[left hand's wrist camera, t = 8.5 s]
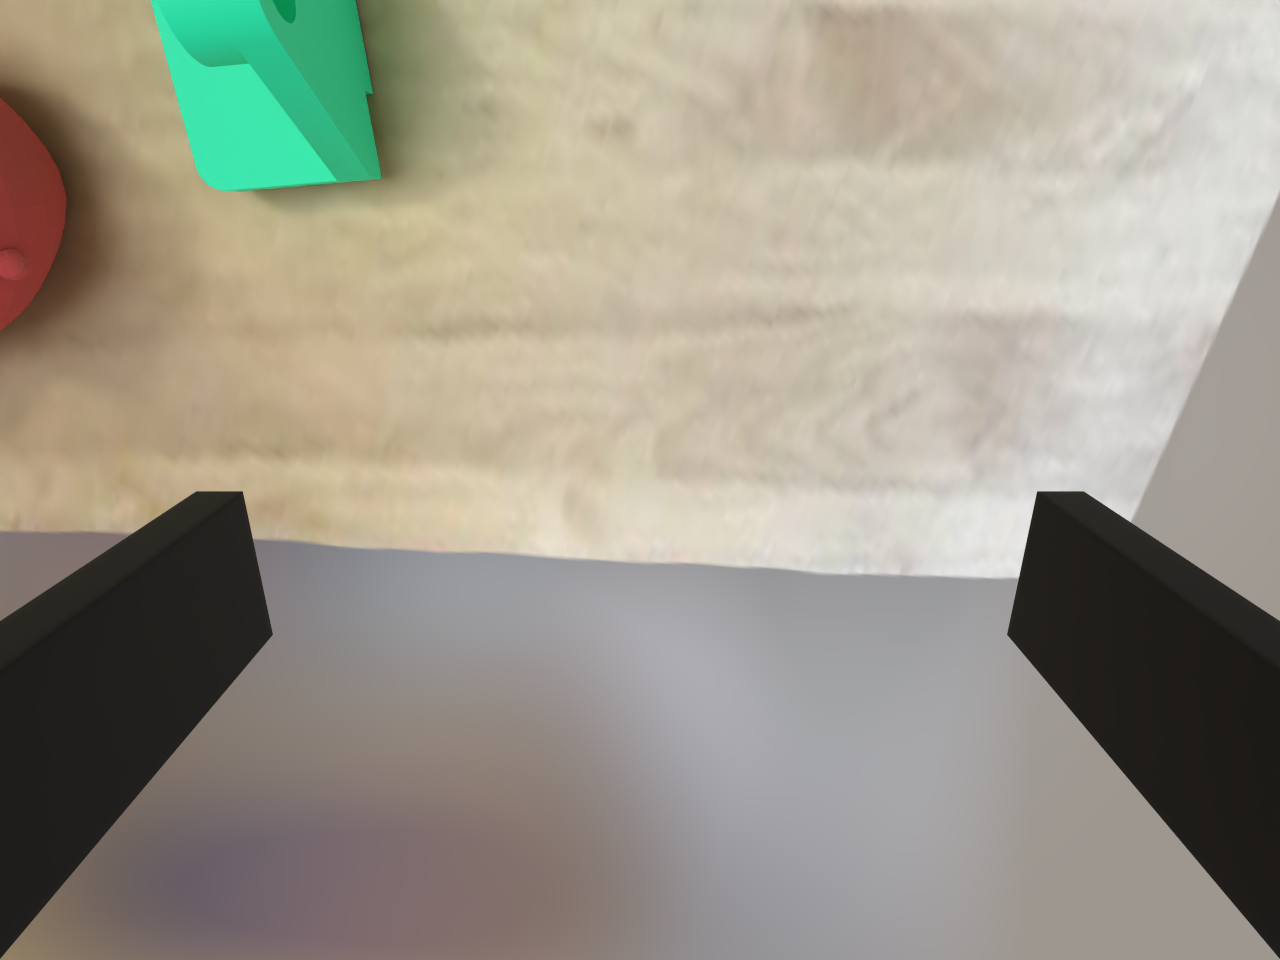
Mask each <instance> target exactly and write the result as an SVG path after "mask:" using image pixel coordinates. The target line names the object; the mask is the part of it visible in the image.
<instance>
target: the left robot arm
mask: <svg viewBox="0 0 1280 960" xmlns="http://www.w3.org/2000/svg"><path fill="white" fill-rule="evenodd" d="M272 635H273V633H272V629H271V624H270V619H269V614H268V610H267V605H266V600H265V595H264V591H263V586H262V581H261V576H260V571H259V567H258V562H257V557H256V552H255V548H254V543H253V538H252V533H251V529H250V524H249V519H248V514H247V510H246V505H245V500H244V495H243V492H195V493H193V494H192V495H190V496H189V497H187V498H186V499H184V500H183V501H181V502H180V503H178V504H177V505H175V506H174V507H172V508H171V509H169V510H168V511H166V512H165V513H163V514H162V515H160V516H159V517H157V518H156V519H154V520H152V521H151V522H149V523H148V524H146V525H145V526H143V527H142V528H140V529H139V530H137V531H136V532H134V533H133V534H131V535H130V536H128V537H127V538H125V539H124V540H122V541H121V542H119V543H118V544H116V545H115V546H113V547H112V548H110V549H109V550H107V551H106V552H104V553H103V554H101V555H100V556H98V557H97V558H95V559H94V560H92V561H91V562H89V563H87V564H86V565H85V566H83V567H81V568H80V569H79V570H77V571H75V572H74V573H72V574H71V575H69V576H68V577H66V578H65V579H63V580H62V581H60V582H59V583H57V584H56V585H54V586H53V587H51V588H50V589H48V590H47V591H45V592H44V593H42V594H41V595H39V596H38V597H36V598H35V599H33V600H32V601H30V602H29V603H27V604H26V605H24V606H23V607H21V608H19V609H18V610H16V611H15V612H13V613H12V614H10V615H9V616H7V617H6V618H4V619H3V620H1V621H0V958H1V957H2V956H3V955H4V954H5V952H6V951H7V950H8V949H9V948H10V946H11V945H12V944H13V943H14V942H15V940H16V939H17V938H18V937H19V936H20V935H21V933H22V932H23V931H24V930H25V929H26V927H27V926H28V925H29V924H30V923H31V921H32V920H33V919H34V918H35V917H36V915H37V914H38V913H39V912H40V911H41V910H42V908H43V907H44V906H45V905H46V904H47V902H48V901H49V900H50V899H51V898H52V896H53V895H54V894H55V893H56V892H57V890H58V889H59V888H60V887H61V886H62V885H63V883H64V882H65V881H66V880H67V879H68V877H69V876H70V875H71V874H72V873H73V872H74V870H75V869H76V868H77V867H78V866H79V864H80V863H81V862H82V861H83V860H84V858H85V857H86V856H87V855H88V854H89V852H90V851H91V850H92V849H93V848H94V847H95V845H96V844H97V843H98V842H99V841H100V839H101V838H102V837H103V836H104V835H105V833H106V832H107V831H108V830H109V829H110V828H111V826H112V825H113V824H114V823H115V822H116V820H117V819H118V818H119V817H120V816H121V814H122V813H123V812H124V811H125V810H126V808H127V807H128V806H129V805H130V804H131V802H132V801H133V800H134V799H135V798H136V797H137V795H138V794H139V793H140V792H141V791H142V789H143V788H144V787H145V786H146V785H147V783H148V782H149V781H150V780H151V779H152V778H153V776H154V775H155V774H156V773H157V772H158V770H159V769H160V768H161V767H162V766H163V765H164V763H165V762H166V761H167V760H168V759H169V757H170V756H171V755H172V754H173V753H174V751H175V750H176V749H177V748H178V747H179V745H180V744H181V743H182V742H183V741H184V740H185V738H186V737H187V736H188V735H189V734H190V732H191V731H192V730H193V729H194V728H195V726H196V725H197V724H198V723H199V722H200V721H201V719H202V718H203V717H204V716H205V715H206V713H207V712H208V711H209V710H210V709H211V707H212V706H213V705H214V704H215V703H216V701H217V700H218V699H219V698H220V697H221V696H222V694H223V693H224V692H225V691H226V690H227V688H228V687H229V686H230V685H231V684H232V682H233V681H234V680H235V679H236V678H237V677H238V675H239V674H240V673H241V672H242V671H243V669H244V668H245V667H246V666H247V665H248V663H249V662H250V661H251V660H252V659H253V658H254V656H255V655H256V654H257V653H258V652H259V650H260V649H261V648H262V647H263V646H264V644H265V643H266V642H267V641H268V640H269V638H270V637H271V636H272ZM1007 635H1008V636H1009V637H1010V639H1011V640H1012V641H1013V642H1014V643H1015V644H1016V646H1017V647H1018V648H1019V649H1020V650H1021V652H1022V653H1023V654H1024V655H1025V656H1026V658H1027V659H1028V660H1029V661H1030V662H1031V663H1032V665H1033V666H1034V667H1035V668H1036V669H1037V671H1038V672H1039V673H1040V674H1041V675H1042V677H1043V678H1044V679H1045V680H1046V681H1047V682H1048V684H1049V685H1050V686H1051V687H1052V688H1053V690H1054V691H1055V692H1056V693H1057V694H1058V695H1059V697H1060V698H1061V699H1062V700H1063V701H1064V703H1065V704H1066V705H1067V706H1068V707H1069V709H1070V710H1071V711H1072V712H1073V713H1074V715H1075V716H1076V717H1077V718H1078V719H1079V721H1080V722H1081V723H1082V724H1083V725H1084V726H1085V728H1086V729H1087V730H1088V731H1089V732H1090V734H1091V735H1092V736H1093V737H1094V738H1095V740H1096V741H1097V742H1098V743H1099V744H1100V745H1101V747H1102V748H1103V749H1104V750H1105V751H1106V753H1107V754H1108V755H1109V756H1110V757H1111V759H1112V760H1113V761H1114V762H1115V763H1116V765H1117V766H1118V767H1119V768H1120V769H1121V770H1122V772H1123V773H1124V774H1125V775H1126V776H1127V778H1128V779H1129V780H1130V781H1131V782H1132V784H1133V785H1134V786H1135V787H1136V788H1137V789H1138V791H1139V792H1140V793H1141V794H1142V795H1143V797H1144V798H1145V799H1146V800H1147V801H1148V803H1149V804H1150V805H1151V806H1152V807H1153V809H1154V810H1155V811H1156V812H1157V813H1158V814H1159V816H1160V817H1161V818H1162V819H1163V820H1164V822H1165V823H1166V824H1167V825H1168V826H1169V827H1170V829H1171V830H1172V831H1173V832H1174V833H1175V835H1176V836H1177V837H1178V838H1179V839H1180V841H1181V842H1182V843H1183V844H1184V845H1185V847H1186V848H1187V849H1188V850H1189V851H1190V852H1191V854H1192V855H1193V856H1194V857H1195V858H1196V860H1197V861H1198V862H1199V863H1200V864H1201V866H1202V867H1203V868H1204V869H1205V870H1206V871H1207V873H1208V874H1209V875H1210V876H1211V877H1212V879H1213V880H1214V881H1215V882H1216V883H1217V885H1218V886H1219V887H1220V888H1221V889H1222V891H1223V892H1224V893H1225V894H1226V895H1227V896H1228V898H1229V899H1230V900H1231V901H1232V902H1233V904H1234V905H1235V906H1236V907H1237V908H1238V910H1239V911H1240V912H1241V913H1242V914H1243V916H1244V917H1245V918H1246V919H1247V920H1248V921H1249V923H1250V924H1251V925H1252V926H1253V927H1254V929H1255V930H1256V931H1257V932H1258V933H1259V934H1260V936H1261V937H1262V938H1263V939H1264V940H1265V942H1266V943H1267V944H1268V945H1269V946H1270V948H1271V949H1272V950H1273V951H1274V952H1275V954H1276V955H1277V956H1278V957H1279V958H1280V621H1279V620H1277V619H1276V618H1274V617H1273V616H1271V615H1270V614H1268V613H1267V612H1265V611H1264V610H1262V609H1261V608H1259V607H1257V606H1256V605H1254V604H1253V603H1251V602H1250V601H1248V600H1247V599H1245V598H1244V597H1242V596H1241V595H1239V594H1238V593H1236V592H1235V591H1233V590H1232V589H1230V588H1229V587H1227V586H1226V585H1224V584H1223V583H1221V582H1220V581H1218V580H1217V579H1215V578H1214V577H1212V576H1211V575H1209V574H1208V573H1206V572H1205V571H1203V570H1202V569H1200V568H1199V567H1197V566H1195V565H1194V564H1193V563H1191V562H1189V561H1188V560H1186V559H1185V558H1183V557H1182V556H1180V555H1179V554H1177V553H1176V552H1174V551H1173V550H1171V549H1170V548H1168V547H1167V546H1165V545H1164V544H1162V543H1161V542H1159V541H1158V540H1156V539H1155V538H1153V537H1152V536H1150V535H1149V534H1147V533H1146V532H1144V531H1143V530H1141V529H1140V528H1138V527H1137V526H1135V525H1134V524H1132V523H1131V522H1129V521H1128V520H1126V519H1124V518H1123V517H1121V516H1120V515H1118V514H1117V513H1115V512H1114V511H1112V510H1111V509H1109V508H1108V507H1106V506H1105V505H1103V504H1102V503H1100V502H1099V501H1097V500H1096V499H1094V498H1093V497H1091V496H1090V495H1088V494H1087V493H1085V492H1037V495H1036V500H1035V505H1034V510H1033V514H1032V519H1031V524H1030V529H1029V533H1028V538H1027V543H1026V548H1025V552H1024V557H1023V562H1022V567H1021V571H1020V576H1019V581H1018V586H1017V591H1016V595H1015V600H1014V605H1013V609H1012V614H1011V619H1010V624H1009V629H1008V633H1007Z"/></svg>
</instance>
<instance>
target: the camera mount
mask: <svg viewBox="0 0 1280 960" xmlns="http://www.w3.org/2000/svg"><path fill="white" fill-rule="evenodd" d="M151 3H152V7H153V10H154V14H155V18H156V22H157V25H158V29H159V33H160V36H161V40H162V44H163V47H164V51H165V55H166V58H167V62H168V66H169V69H170V73H171V77H172V80H173V84H174V88H175V91H176V95H177V99H178V102H179V106H180V110H181V113H182V117H183V121H184V124H185V128H186V132H187V135H188V139H189V143H190V146H191V150H192V154H193V157H194V161H195V165H196V168H197V171H198V173H199V175H200V176H201V178H202V179H203V180H204V181H205V182H206V183H207V184H208V185H209V186H211V187H213V188H215V189H217V190H222V191H252V190H263V189H274V188H286V187H297V186H308V185H319V184H330V183H341V182H353V181H364V180H375V179H382V177H381V172H380V167H379V161H378V156H377V151H376V146H375V140H374V135H373V130H372V125H371V119H370V114H369V109H368V104H367V99H366V95H367V94H373V90H372V85H371V80H370V74H369V69H368V64H367V58H366V53H365V48H364V42H363V37H362V32H361V26H360V21H359V16H358V10H357V5H356V0H151Z"/></svg>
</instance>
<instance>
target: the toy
mask: <svg viewBox="0 0 1280 960" xmlns="http://www.w3.org/2000/svg"><path fill="white" fill-rule="evenodd" d="M66 202H67V195H66V192H65V189H64V185H63V182H62V178H61V175H60V171H59V169H58V168H57V166H56V164H55V162H54V161H53V159H52V157H51V156H50V154H49V152H48V150H47V149H46V147H45V146H44V145H43V143H42V142H41V141H40V140H39V138H38V137H37V136H36V135H35V133H34V132H33V131H32V130H31V129H30V127H29V126H28V125H27V124H26V123H25V122H24V120H23V119H22V118H21V117H20V116H19V115H18V114H17V113H16V112H15V111H14V110H13V109H12V108H11V107H10V106H9V105H7V104H6V103H5V102H4V101H3V100H2V99H1V98H0V331H1V330H2V329H3V328H5V327H6V326H7V325H8V324H10V323H11V322H12V321H13V320H14V319H15V318H17V317H18V316H19V315H20V314H21V313H22V312H23V311H24V310H25V308H26V307H27V306H28V305H29V303H30V302H31V301H32V299H33V298H34V296H35V295H36V294H37V292H38V291H39V289H40V288H41V286H42V284H43V282H44V280H45V278H46V276H47V274H48V272H49V270H50V268H51V266H52V263H53V261H54V258H55V256H56V254H57V252H58V249H59V247H60V243H61V238H62V234H63V230H64V226H65V219H66Z"/></svg>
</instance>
